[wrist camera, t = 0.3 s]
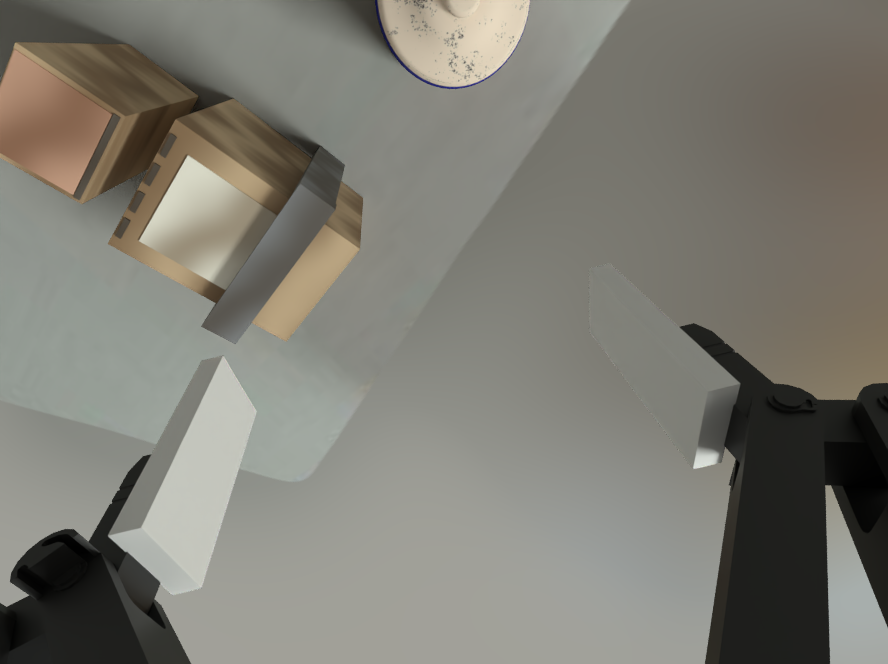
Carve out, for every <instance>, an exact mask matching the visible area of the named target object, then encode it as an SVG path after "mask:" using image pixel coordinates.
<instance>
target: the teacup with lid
mask: <svg viewBox="0 0 888 664" xmlns="http://www.w3.org/2000/svg"><path fill="white" fill-rule="evenodd" d="M375 5H376V12H377V17H378V21H379V25H380V28H381V31H382V33H383V36H384V38H385V40H386V42H387V44H388V46H389V48H390V50H391V51H392V53H393V55H394V56H395V57H396V59H397V60H398V61H399V62H400V64H401V65H402V66H403V67H404V68H405V69H406V70H407V71H408V72H410V73H411V74H412V75H414V76H415V77H416V78H418V79H420V80H421V81H423V82H425V83H427V84H430V85H433V86H436V87H440V88H447V89H458V88H465V87H469V86H472V85H475V84H478V83H480V82H482V81H484V80H486V79H487V78H489V77H490V76H492V75H493V74H494V73H496V72H497V71H498V70H499V69H500V68H501V67H502V66H503V65H504V64H505V63H506V62H507V60H508V59H509V58H510V56H511V55H512V53H513V52H514V50H515V49H516V47H517V45H518V43H519V41H520V39H521V36H522V34H523V31H524V28H525V25H526V22H527V18H528V13H529V7H530V0H375Z"/></svg>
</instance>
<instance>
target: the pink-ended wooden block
mask: <svg viewBox="0 0 888 664" xmlns="http://www.w3.org/2000/svg"><path fill="white" fill-rule="evenodd" d="M198 97H199V96H198V95H196V94H195V93H194V92H192V91H191V90H190V89H188V88H187V87H186V86H184V85H183V84H182V83H180V82H179V81H178V80H176V79H175V78H174V77H172V76H171V75H170V74H168V73H167V72H166V71H164V70H163V69H162V68H160V67H159V66H158V65H156V64H155V63H153V62H152V61H151V60H149V59H148V58H147V57H145V56H144V55H143V54H141V53H140V52H139V51H137V50H136V49H135V48H133V47H132V46H131V45H129V44H81V43H32V42H15V45H14V48H13V50H12V53H11V56H10V58H9V61H8V63H7V66H6V69H5V71H4V74H3V77H2V79H1V82H0V158H2V159H3V160H5V161H7V162H9V163H10V164H12V165H14V166H16V167H17V168H19V169H21V170H23V171H24V172H26V173H28V174H30V175H31V176H33V177H35V178H37V179H38V180H40V181H42V182H44V183H45V184H47V185H49V186H51V187H53V188H54V189H56V190H58V191H60V192H61V193H63V194H65V195H67V196H68V197H70V198H72V199H74V200H75V201H77V202H79V203H81V204H83V203H85V202H87V201H89V200H90V199H92V198H94V197H96V196H98V195H100V194H102V193H104V192H105V191H107V190H109V189H111V188H113V187H115V186H117V185H119V184H120V183H122V182H124V181H126V180H128V179H130V178H132V177H134V176H135V175H137V174H139V173H141V172H143V171H145V170H147V169H149V167H150V165H151V163H152V162H153V160H154V158H155V156H156V154H157V152H158V151H159V149H160V147H161V145H162V143H163V141H164V140H165V138H166V136H167V134H168V132H169V130H170V129H171V127H172V125H173V123H174V121H175V119H177V118H180V117H183V116H186V115H189V114H190V112H191V110H192V108H193V106H194V105H195V103H196V101H197V99H198Z"/></svg>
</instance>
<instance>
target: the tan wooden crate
mask: <svg viewBox="0 0 888 664" xmlns="http://www.w3.org/2000/svg"><path fill="white" fill-rule="evenodd" d="M344 167H345V165H344V164H343V163H342V162H340V161H339V160H338V159H337V158H335V157H334V156H333V155H332V154H330V153H329V152H328V151H326V150H325V149H324V148H323V147H321V146H320V147H319V148H318V150H317V151H316V153H315V154H314V156H313V157H312V158H310V157H309V156H308V155H306V154H305V153H304V152H303V151H301V150H300V149H299V148H297V147H296V146H295V145H293V144H292V143H291V142H290V141H288V140H287V139H286V138H284V137H283V136H282V135H280V134H279V133H278V132H277V131H275V130H274V129H273V128H271V127H270V126H269V125H267V124H266V123H265V122H264V121H262V120H261V119H260V118H258V117H257V116H256V115H254V114H253V113H252V112H251V111H249V110H248V109H247V108H245V107H244V106H243V105H241V104H240V103H239V102H238V101H236V100H235V99H231V100H228V101H225V102H222V103H220V104H217V105H214V106H211V107H208V108H205V109H203V110H200V111H197V112H194V113H191V114H189V115H186V116H183V117H180V118H177V119H175V121H174V123H173V125H172V127H171V129H170V130H169V132H168V134H167V136H166V138H165V140H164V141H163V143H162V145H161V147H160V149H159V151H158V152H157V154H156V156H155V158H154V160H153V162H152V163H151V165H150V167H149V169H148V171H147V173H146V175H145V176H144V178H143V180H142V182H141V184H140V186H139V187H138V189H137V191H136V193H135V195H134V197H133V198H132V200H131V202H130V204H129V206H128V208H127V209H126V211H125V213H124V215H123V217H122V219H121V220H120V222H119V224H118V226H117V228H116V230H115V232H114V233H113V235H112V237H111V239H110V241H109V243H108V244H109V245H111V246H113V247H115V248H116V249H118V250H120V251H122V252H124V253H126V254H127V255H129V256H131V257H133V258H135V259H136V260H138V261H140V262H142V263H144V264H146V265H147V266H149V267H151V268H153V269H155V270H157V271H158V272H160V273H162V274H164V275H166V276H168V277H169V278H171V279H173V280H175V281H177V282H178V283H180V284H182V285H184V286H186V287H188V288H189V289H191V290H193V291H195V292H197V293H199V294H200V295H202V296H204V297H206V298H208V299H209V300H211V301H213V302H215V303H216V304H215V305H214V307H213V309H212V310H211V312H210V313H209V315H208V317H207V318H206V320H205V321H204V323H203V324H202V326H201V327H203V328H205V329H207V330H209V331H211V332H213V333H215V334H217V335H219V336H221V337H223V338H225V339H226V340H228V341H230V342H232V343H234V344H236V343H237V342H238V340H239V339H240V338H241V336H242V335H243V334H244V332H245V331H246V330H247V328H248V327H249V325H250V324H251V323H253V324H255V325H257V326H259V327H261V328H262V329H264V330H266V331H268V332H270V333H271V334H273V335H275V336H277V337H279V338H281V339H282V340H284V341H287V340H288V339H289V338H290V336H291V335H292V334H293V333H294V331H295V330H296V329H297V328H298V326H299V325H300V324H301V322H302V321H303V320H304V319H305V317H306V316H307V315H308V314H309V312H310V311H311V310H312V309H313V307H314V306H315V305H316V304H317V302H318V301H319V300H320V299H321V297H322V296H323V295H324V294H325V292H326V291H327V290H328V289H329V287H330V286H331V285H332V284H333V282H334V281H335V280H336V279H337V277H338V276H339V275H340V273H341V272H342V271H343V270H344V268H345V267H346V266H347V265H348V263H349V262H350V261H351V260H352V258H353V257H354V256H355V255H356V253H357V252H358V251H359V250H360V239H361V223H362V207H363V198H362V197H361V196H360V195H358V194H357V193H356V192H354V191H353V190H352V189H351V188H349V187H348V186H347V185H345V184H344V183H343V182H341V179H342V175H343V171H344Z"/></svg>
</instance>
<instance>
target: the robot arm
mask: <svg viewBox="0 0 888 664" xmlns="http://www.w3.org/2000/svg"><path fill="white" fill-rule="evenodd" d="M589 314H590V316H589V317H590V319H589V321H590V333H591V335H592V336H593V337H594V338H595V340H596V341H597V343H598V344H599V345H600V347H601V348H602V349H603V351H604V352H605V353H606V355H607V356H608V357H609V359H610V360H611V361H612V363H613V364H614V365H615V367H616V368H617V369H618V370H619V372H620V373H621V375H622V376H623V377H624V378H625V380H626V381H627V382H628V384H629V385H630V386H631V388H632V389H633V390H634V392H635V393H636V394H637V396H638V397H639V398H640V400H641V401H642V402H643V404H644V405H645V406H646V407H647V409H648V410H649V411H650V413H651V414H652V416H653V417H654V418H655V420H656V421H657V422H658V424H659V425H660V426H661V428H662V429H663V430H664V432H665V433H666V434H667V435H668V437H669V438H670V439H671V441H672V442H673V443H674V445H675V446H676V447H677V449H678V450H679V451H680V453H681V454H682V455H683V457H684V458H685V459H686V461H687V462H688V463H689V465H690V466H691V467H692V469H696V468H701V467H705V466H709V465H713V464H717V463H721V462H722V458H723V453H724V449H725V447H726V448H727V449H728V450H729V452H730V453H731V454H732V455H733V456H734V457H735V458H736V460H735V464H734V468H733V472H732V476H731V479H730V483H729V485H730V486H731V489H730V496H729V503H728V510H727V517H726V524H725V530H724V538H723V544H722V551H721V558H720V565H719V572H718V579H717V586H716V593H715V599H714V606H713V613H712V619H711V626H710V633H709V640H708V647H707V654H706V660H705V664H830V648H829V610H828V575H827V574H828V573H827V536H826V500H825V499H826V498H825V485H831V486H832V489H833V491H834V494H835V496H836V499H837V501H838V504H839V506H840V509H841V511H842V514H843V516H844V519H845V521H846V524H847V526H848V529H849V531H850V534H851V536H852V539H853V541H854V544H855V546H856V549H857V552H858V554H859V556H860V559H861V562H862V564H863V567H864V569H865V572H866V574H867V577H868V579H869V582H870V584H871V587H872V589H873V592H874V594H875V597H876V599H877V602H878V604H879V607H880V609H881V612H882V614H883V617H884V619H885V622H886V624H887V627H888V383H879V384H871V385H868V386H866V387H864V388H863V389H862V390H861V392H860V393H859V395H858V397H857V400H817V399H816V398H815V397H814V396H813V395H812V394H810V393H808V392H806V391H804V390H802V389H800V388H797V387H793V386H790V385H784V384H774V383H772V382H771V381H770V380H769V379H768V378H767V377H765V376H764V375H763V374H762V373H761V372H760V371H758V370H757V369H756V368H755V367H753V366H752V365H751V364H750V363H749V362H748V361H747V360H745V359H744V358H743V357H742V356H741V355H739V354H738V353H735V351H734V349H732V348H731V347H730V346H729V345H728V344H725V343H724V341H723V340H722V339H720V338H719V337H718V336H717V335H716V334H715V333H713V332H712V331H710V330H708V329H706V328H703V327H701V326H699V325H697V324H689V325H685V326H681V327H679V326H677V325H676V324H675V323H674V322H673V321H672V320H671V319H670V318H669V317H668V316H667V315H666V314H664V313H663V312H662V311H661V310H660V309H659V308H658V307H657V306H656V305H655V304H654V303H653V302H651V301H650V300H649V299H648V298H647V297H646V296H645V295H644V294H643V293H642V292H641V291H640V290H638V289H637V288H636V287H635V286H634V285H633V284H632V283H631V282H630V281H629V280H628V279H627V278H625V277H624V276H623V275H622V274H621V273H620V272H619V271H618V270H616V268H614V266H612V265H611V264H606V265H602V266H597V267H593V268H590V269H589ZM255 415H256V410H255V408H254V407H253V405H252V403H251V402H250V400H249V398H248V396H247V395H246V393H245V391H244V390H243V388H242V386H241V385H240V383H239V381H238V380H237V378H236V376H235V375H234V373H233V371H232V370H231V368H230V366H229V364H228V363H227V361H226V359H225V358H224V356H219V357H215V358H211V359H207V360H202V361H201V363H200V365H199V367H198V368H197V370H196V372H195V374H194V376H193V378H192V380H191V382H190V383H189V385H188V387H187V389H186V391H185V393H184V395H183V396H182V398H181V400H180V402H179V404H178V406H177V408H176V409H175V411H174V413H173V415H172V417H171V419H170V421H169V423H168V424H167V426H166V428H165V430H164V432H163V434H162V436H161V437H160V439H159V441H158V443H157V445H156V447H155V449H154V450H153V452H152V454H151V455H147V456H143V457H142V458H141V459H140V460H139V461H138V462H137V463H136V464H135V465H134V466H133V468H132V469H131V470H130V471H129V472H128V474H127V475H126V477H125V479H124V480H123V483H122V484H121V486H120V490H119V491H117V493H116V494H115V496H114V498H113V500H112V504H110V505H109V507H108V509H107V510H106V512H105V514H104V516H103V517H102V519H101V521H100V523H99V524H98V526H97V528H96V530H95V531H94V533H93V535H92V537H91V539H90V540H89V542H88V541H87V540H85V539H84V538H83V537H82V536H81V535H80V534H78V533H77V532H76V531H75V530H74V529H64V530H61V531H58V532H55V533H53V534H51V535H49V536H47V537H45V538H44V539H42V540H40V541H39V542H38V543H37V544H35V545H34V546H33V547H32V548H30V549H29V550H28V551H27V552H26V553H25V555H24V556H23V557H22V558H21V559H20V560H19V561H18V562H17V564H16V566H15V567H14V569H13V571H12V573H11V579H10V582H11V583H12V584H14V585H15V586H17V587H18V588H20V589H21V590H23V591H24V592H26V593H27V594H29V596H28V597H26V598H23V599H22V600H20V601H18V602H16V603H14V604H12V605H10V606H8V607H6V606H4V605H2V604H1V603H0V664H191V663H190V661H189V659H188V657H187V655H186V653H185V651H184V649H183V647H182V645H181V643H180V641H179V640H178V637H177V635H176V633H175V631H174V630H173V628H172V626H171V624H170V622H169V620H168V618H167V617H166V614H165V612H164V610H163V608H162V606H161V605H160V604H159V603H158V602H157V601H156V600H155V599H154V598H155V596H156V593H157V591H158V588H159V585H160V584H161V585H162V586H163V587H164V588H165V589H166V590H167V591H168V592H170V593H171V594H172V595H175V594H180V593H184V592H187V591H192V590H196V589H200V588H202V584H203V582H204V578H205V575H206V572H207V569H208V565H209V562H210V559H211V556H212V553H213V550H214V546H215V543H216V540H217V537H218V534H219V530H220V527H221V524H222V521H223V518H224V515H225V511H226V508H227V505H228V502H229V498H230V495H231V492H232V489H233V486H234V482H235V479H236V476H237V473H238V470H239V467H240V463H241V460H242V457H243V454H244V451H245V447H246V444H247V441H248V438H249V435H250V431H251V428H252V425H253V422H254V419H255Z"/></svg>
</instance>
